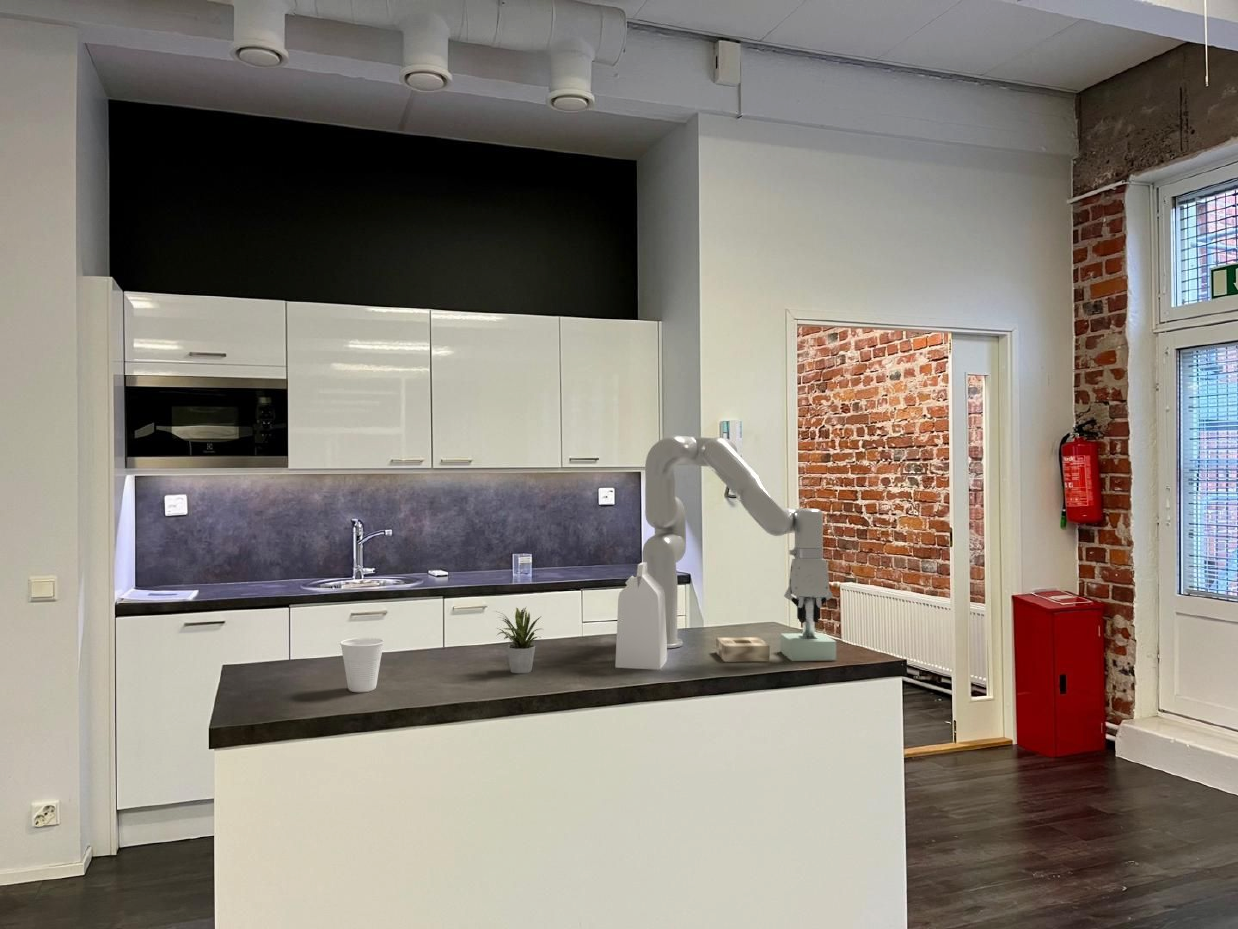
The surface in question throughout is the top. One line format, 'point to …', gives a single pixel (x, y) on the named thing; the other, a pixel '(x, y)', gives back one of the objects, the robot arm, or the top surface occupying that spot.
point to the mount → (742, 649)
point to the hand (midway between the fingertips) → (808, 621)
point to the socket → (807, 647)
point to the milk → (641, 623)
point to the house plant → (520, 643)
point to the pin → (809, 618)
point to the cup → (362, 662)
